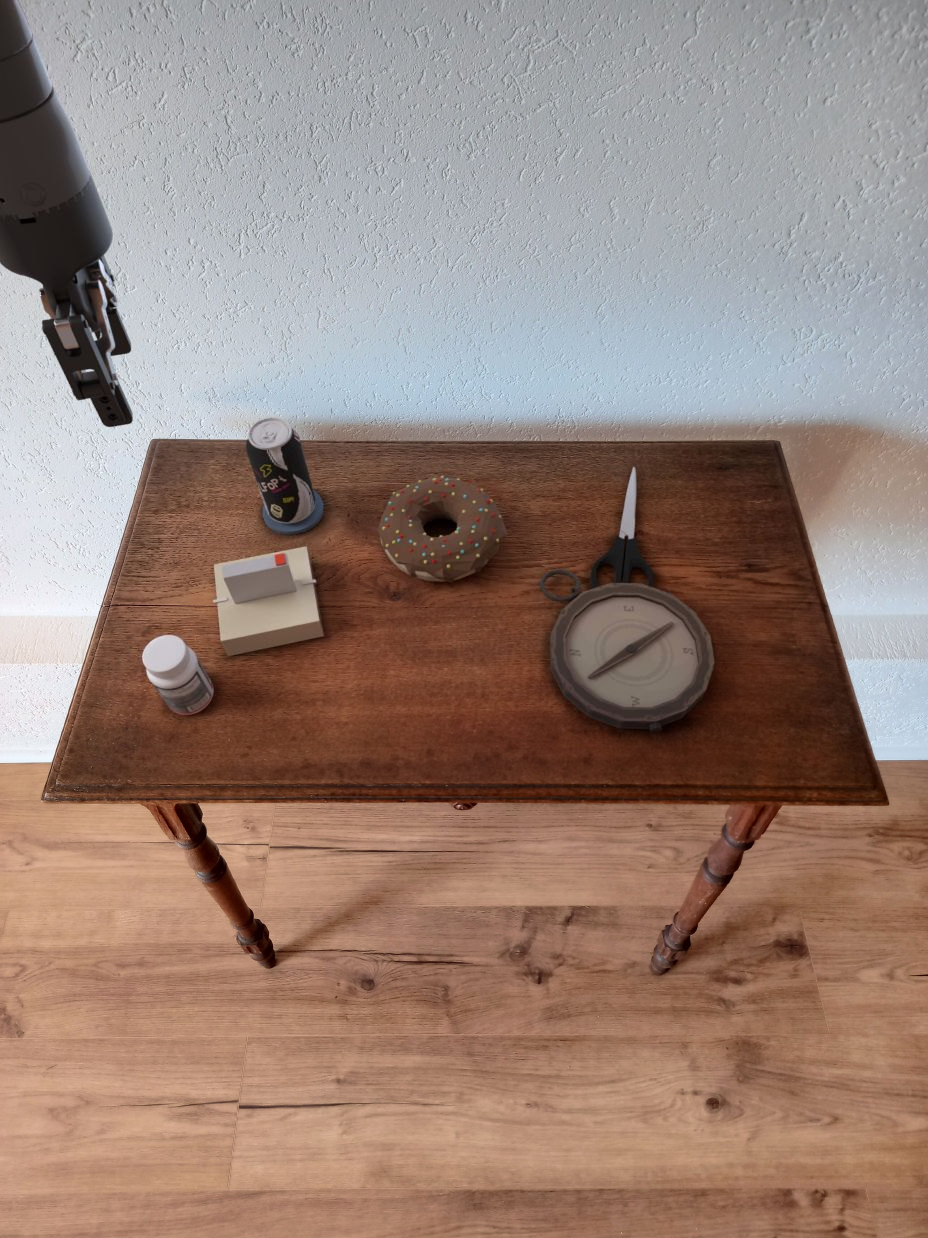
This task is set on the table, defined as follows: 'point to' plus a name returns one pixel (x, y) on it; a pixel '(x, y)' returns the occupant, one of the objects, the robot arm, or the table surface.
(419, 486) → the donut
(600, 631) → the compass
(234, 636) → the base
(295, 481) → the beverage can
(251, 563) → the tap handle
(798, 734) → the table surface
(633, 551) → the scissors
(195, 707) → the pill bottle
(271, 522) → the coaster
